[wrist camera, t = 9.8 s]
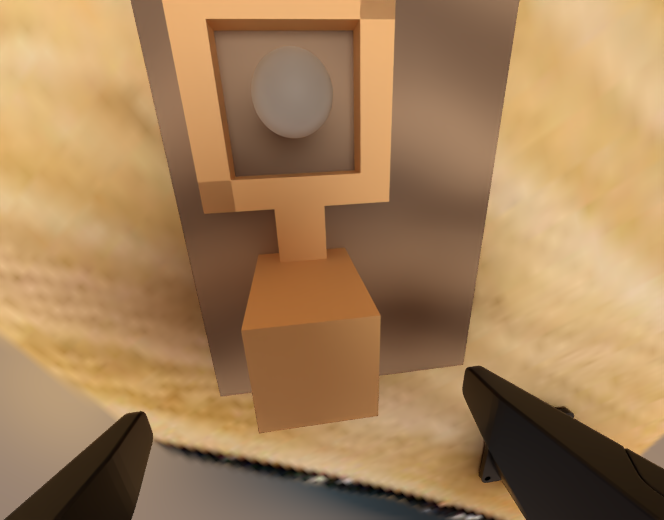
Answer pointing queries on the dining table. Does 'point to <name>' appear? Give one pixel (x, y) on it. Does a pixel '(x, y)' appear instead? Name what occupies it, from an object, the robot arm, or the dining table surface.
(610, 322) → the dining table surface
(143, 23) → the board
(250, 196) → the square frame with handle
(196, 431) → the dining table surface
